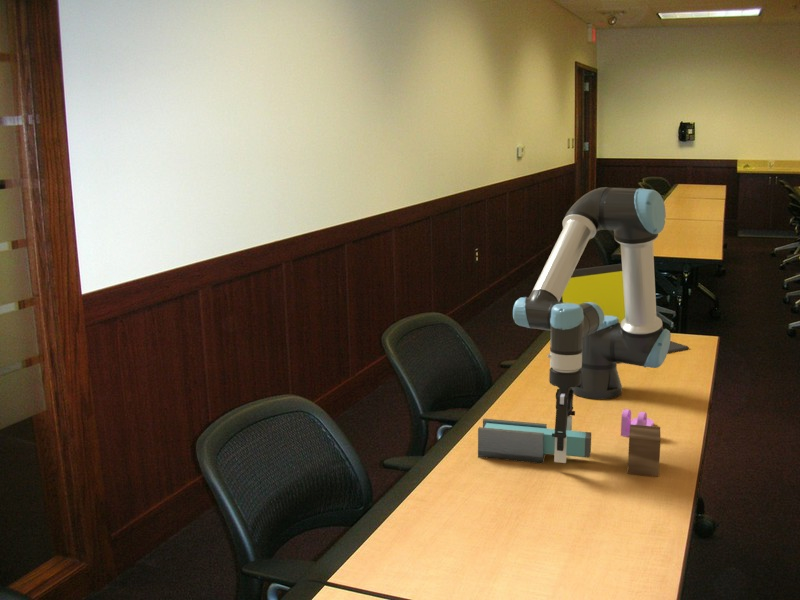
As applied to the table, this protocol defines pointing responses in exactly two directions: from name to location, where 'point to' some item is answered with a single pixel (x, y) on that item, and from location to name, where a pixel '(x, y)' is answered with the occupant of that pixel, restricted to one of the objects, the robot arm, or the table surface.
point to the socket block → (644, 450)
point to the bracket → (633, 421)
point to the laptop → (602, 292)
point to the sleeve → (511, 442)
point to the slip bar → (575, 439)
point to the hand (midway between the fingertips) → (563, 451)
